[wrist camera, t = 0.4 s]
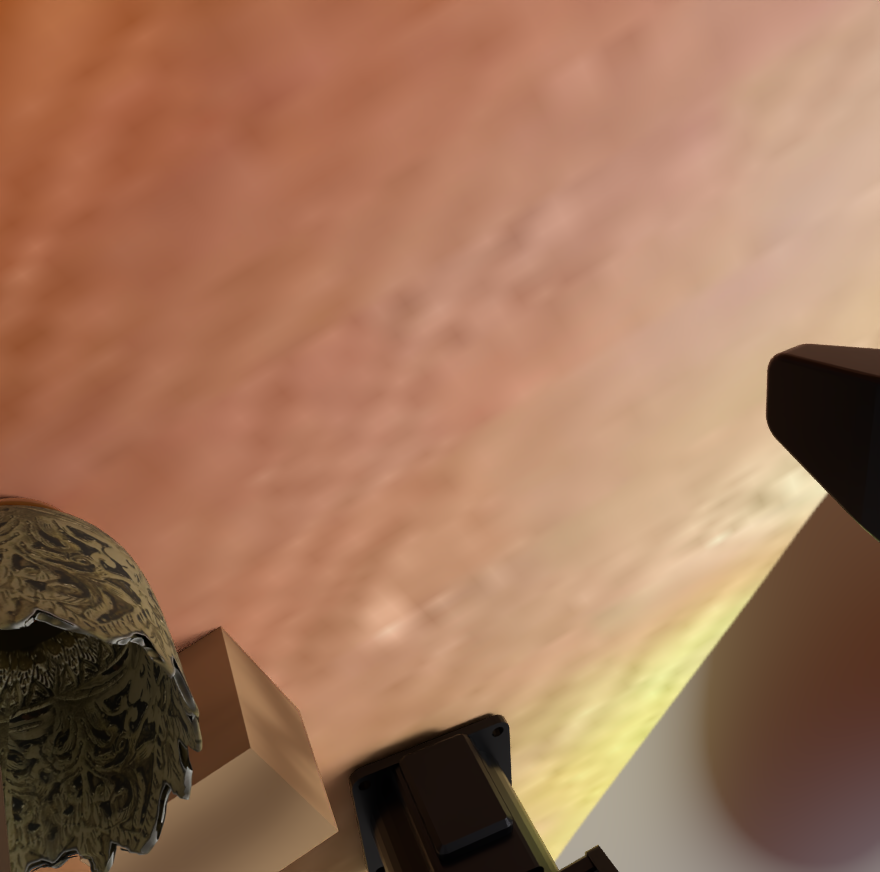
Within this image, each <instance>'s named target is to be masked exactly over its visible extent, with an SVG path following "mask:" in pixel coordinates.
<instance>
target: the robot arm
mask: <svg viewBox="0 0 880 872" xmlns="http://www.w3.org/2000/svg"><path fill="white" fill-rule="evenodd" d="M766 420H767V424H768V427H769V429H770V431H771V433H772V434H773V436H774V437H775V438H776V439H777V440H778V441H779V442H780V443H781V444H782V446H783V447H784V448H785V449H786V450H787V451H788V452H789V453H790V454H791V455H792V456H793V457H794V458H795V459H796V460H797V461H798V462H799V463H800V464H801V465H802V466H803V467H804V468H805V469H806V470H807V471H808V472H809V473H810V475H811V476H812V477H813V478H814V479H815V480H816V481H817V482H818V483H819V484H820V485H821V486H822V487H823V488H824V489H825V490H826V491H827V492H828V493H829V494H830V495H831V496H832V497H833V498H834V499H835V500H836V501H837V502H838V504H839V505H840V506H841V507H842V508H843V509H844V510H845V511H846V512H847V513H848V514H849V515H850V516H851V517H853V519H854V520H855V521H856V522H857V523H858V524H860V525H861V526H862V527H863V528H864V529H865V530H866V531H867V532H869V534H871V535H872V536H873V537H874V538H875V539H876V540H877V541H878V542H880V349H872V348H859V347H845V346H832V345H819V344H802V345H798V346H796V347H793V348H791V349H788V350H786V351H783V352H781V353H778V354H776V355H775V356H774V357H773V358H772V359H771V360H770V362H769V365H768V370H767V399H766ZM349 784H350V789H351V794H352V799H353V804H354V808H355V813H356V818H357V823H358V828H359V833H360V838H361V843H362V848H363V852H364V857H365V862H366V867H367V870H368V872H618V870H617V869H616V868H615V866H614V865H613V864H612V862H611V861H610V860H609V859H608V857H607V856H606V854H605V853H604V852H603V850H602V849H601V848H600V847H599V845H597V846H595V847H593V848H592V849H590V850H588V851H586V852H585V856H583V857H582V858H580V859H578V860H576V861H575V862H573V863H571V864H570V865H568V866H566V867H564V868H562V869H561V870H559V869H558V868H557V866H556V864H555V862H554V860H553V859H552V857H551V855H550V853H549V852H548V850H547V848H546V846H545V845H544V843H543V841H542V839H541V837H540V836H539V834H538V832H537V830H536V829H535V827H534V825H533V823H532V822H531V820H530V818H529V816H528V814H527V813H526V811H525V809H524V807H523V806H522V804H521V802H520V800H519V799H518V797H517V795H516V793H515V791H514V790H513V788H512V780H511V757H510V733H509V725H508V723H507V721H506V720H505V718H504V717H503V716H502V715H494V716H491V717H489V718H486V719H484V720H481V721H478V722H476V723H473V724H471V725H468V726H466V727H463V728H461V729H458V730H456V731H453V732H451V733H448V734H446V735H443V736H440V737H438V738H435V739H433V740H430V741H428V742H425V743H423V744H420V745H418V746H415V747H413V748H410V749H408V750H405V751H402V752H400V753H397V754H395V755H392V756H390V757H387V758H385V759H382V760H380V761H377V762H375V763H372V764H369V765H367V766H364V767H362V768H360V769H358V770H356V771H355V772H353V773H352V774H351V776H350V778H349ZM0 872H11V866H10V855H9V845H8V835H7V824H6V814H5V804H4V793H3V783H2V773H1V767H0Z"/></svg>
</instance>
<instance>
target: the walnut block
mask: <svg viewBox="0 0 880 872" xmlns="http://www.w3.org/2000/svg"><path fill="white" fill-rule="evenodd" d="M178 657H179V660H180V663H181V666H182V669H183V672H184V675H185V678H186V681H187V684H188V686H189V689H190V692H191V694H192V696H193V698H194V700H195V702H196V705H197V707H198V710H199V727H200V731H201V736H202V750H201V751H200V752H196V751H194V750H193V749H192V748H190V747H189V745H188V751H189V758H190V762H191V766H192V768H193V772H192V787H191V795H190V798H189V800H185V799H181V798H179V797H178V796H177V795H174V794H173V793H172V791H171V792H170V795H169V798H168V802H167V809H166V816H165V821H164V824H163V828H162V831H161V834H160V837H159V840H158V841H157V842H156V844H155V845H154V847H153V848H152V850H151V851H150V852H149V853H148V854H145V855H138V854H137V853H129V851H122V850H120V848H122V847H120V846H117V850H116V854H115V859H114V862H113V865H112V867H111V868H110V870H109V872H279V871H281V870H282V869H284V868H285V867H287V866H288V865H290V864H291V863H293V862H294V861H296V860H297V859H299V858H300V857H301V856H303V855H304V854H306V853H307V852H309V851H310V850H312V849H313V848H315V847H316V846H318V845H319V844H321V843H322V842H324V841H325V840H326V839H328V838H329V837H331V836H332V835H334V834H335V833H337V832H338V827H337V824H336V821H335V818H334V815H333V812H332V809H331V806H330V803H329V800H328V797H327V794H326V791H325V788H324V785H323V782H322V778H321V775H320V772H319V769H318V766H317V763H316V760H315V757H314V754H313V751H312V748H311V745H310V742H309V739H308V736H307V733H306V729H305V726H304V723H303V720H302V717H301V714H300V711H299V710H298V708H297V707H296V706H295V705H294V704H293V703H292V702H291V701H290V700H289V699H288V698H287V697H286V696H285V695H284V693H283V692H282V691H281V690H280V689H279V688H278V687H277V686H276V685H275V684H274V683H273V682H272V681H271V680H270V678H269V677H268V676H267V675H266V674H265V673H264V672H263V671H262V670H261V669H260V668H259V667H258V666H257V665H256V664H255V662H254V661H253V660H252V659H251V658H250V657H249V656H248V655H247V654H246V653H245V652H244V651H243V650H242V649H241V647H240V646H239V645H238V644H237V643H236V642H235V641H234V640H233V639H232V638H231V637H230V636H229V635H228V634H227V632H226V631H225V630H224V629H223V628H222V627H219V628H218V629H216V630H214V631H213V632H211V633H210V634H208V635H207V636H205V637H203V638H202V639H200V640H199V641H197V642H196V643H194V644H192V645H191V646H189V647H188V648H186V649H185V650H183V651H181V652H180V653H178ZM123 849H125V848H123ZM126 850H127V849H126ZM80 861H82V862H83V863H85V864H86V865H88V866H89V867H90V863H89V861H88V859H83V858H82V856H80Z"/></svg>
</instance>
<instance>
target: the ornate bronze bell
mask: <svg viewBox="0 0 880 872" xmlns="http://www.w3.org/2000/svg"><path fill="white" fill-rule="evenodd" d="M188 745H189V747H190V748H192V749H193V750H194V751H196V752H200V751H201V750H202V736H201V731H200V727H199V710H198V707H197V705H196V702H195V700H194V698H193V696H192V694H191V692H190V689H189V686H188V684H187V681H186V678H185V675H184V672H183V669H182V666H181V663H180V660H179V657H178V654H177V651H176V649H175V646H174V643H173V640H172V638H171V635H170V632H169V629H168V627H167V624H166V621H165V619H164V616H163V613H162V611H161V609H160V606H159V604H158V602H157V599H156V597H155V595H154V593H153V591H152V589H151V587H150V585H149V583H148V581H147V579H146V578H145V576H144V574H143V573H142V571H141V570H140V568H139V567H138V565H137V564H136V563H135V561H134V560H133V559H132V557H131V556H130V555H129V554H128V553H127V552H126V550H125V549H124V548H123V547H122V546H121V545H120V544H118V543H117V542H116V541H115V540H114V539H113V538H111V537H110V536H109V535H107V534H106V533H104V532H103V531H102V530H100V529H99V528H97V527H96V526H94V525H92V524H90V523H88V522H86V521H84V520H82V519H80V518H77V517H75V516H72V515H70V514H67V513H64V512H63V511H61V510H60V509H58V508H56V507H54V506H52V505H50V504H47V503H45V502H41V501H38V500H33V499H27V498H3V499H0V767H1V773H2V783H3V793H4V804H5V814H6V824H7V835H8V845H9V855H10V866H11V872H30V871H31V870H32V869H33V868H36V867H38V868H36V869H34V870H33V871H35V870H37V869H39V868H42V867H43V868H45V867H52V868H59V867H61V866H62V865H63V864H64V863H65V862H66V861H67V860H68V859H70V858H73V857H76V856H72V857H68V856H71V855H75V854H79V855H80V856H82V858H83V859H88V861H89V863H90V867H91V872H109V870H110V868H111V867H112V865H113V862H114V859H115V854H116V850H117V846H120V847H122V848H120V850H122V851H129V853H137V854H138V855H145V854H148V853H149V852H150V851H151V850H152V848H153V847H154V845H155V844H156V842H157V841H158V840H159V837H160V834H161V831H162V828H163V824H164V821H165V816H166V809H167V802H168V798H169V795H170V792H171V791H172V793H173V794H174V795H177V796H178V797H179V798H181V799H185V800H189V798H190V795H191V787H192V772H193V768H192V766H191V762H190V758H189V751H188ZM123 848H125V849H123ZM126 849H127V850H126ZM42 865H43V866H42ZM39 866H40V867H39ZM33 871H31V872H33Z"/></svg>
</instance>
